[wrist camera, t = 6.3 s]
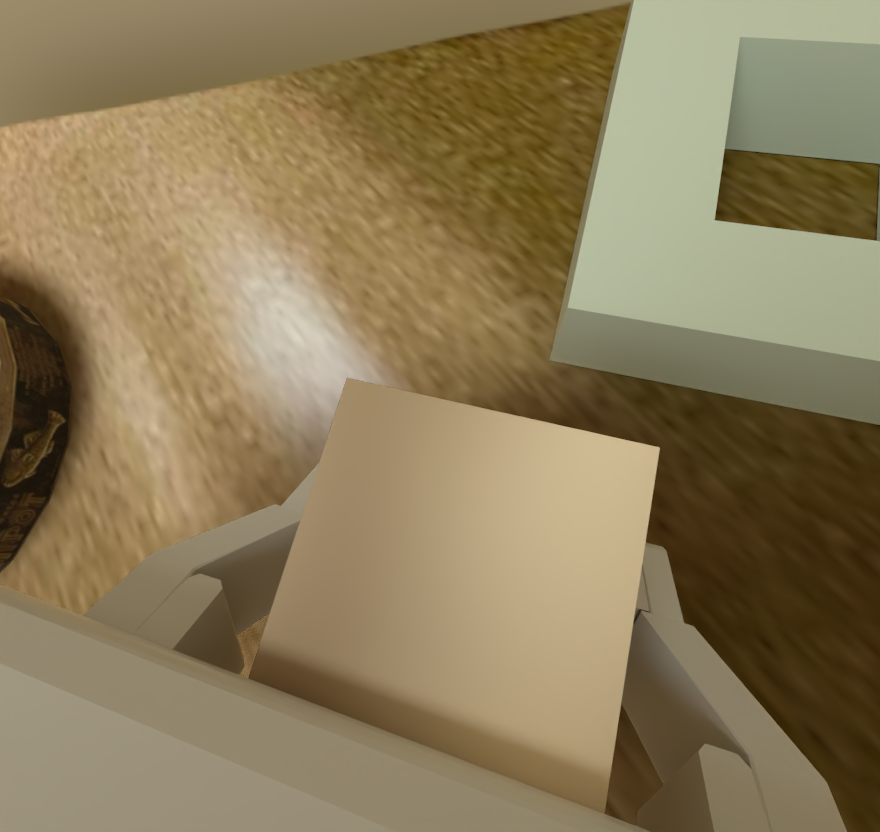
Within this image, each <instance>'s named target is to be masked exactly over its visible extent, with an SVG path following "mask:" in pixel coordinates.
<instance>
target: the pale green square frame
mask: <svg viewBox="0 0 880 832" xmlns="http://www.w3.org/2000/svg"><path fill="white" fill-rule="evenodd" d="M725 149H732V150H743V151H753V152H763V153H773V154H784V155H794V156H804V157H814V158H825V159H835V160H845V161H855V162H865V163H876V164H880V0H632V2H631V5H630V9H629V13H628V17H627V21H626V24H625V28H624V32H623V36H622V40H621V43H620V47H619V51H618V55H617V59H616V62H615V66H614V70H613V74H612V78H611V83H610V87H609V92H608V97H607V101H606V106H605V110H604V115H603V119H602V124H601V128H600V133H599V137H598V142H597V147H596V151H595V156H594V160H593V165H592V169H591V174H590V178H589V183H588V188H587V192H586V197H585V201H584V206H583V210H582V215H581V219H580V224H579V229H578V233H577V238H576V242H575V247H574V251H573V256H572V260H571V265H570V269H569V274H568V279H567V283H566V288H565V292H564V297H563V301H562V306H561V310H560V315H559V320H558V324H557V329H556V333H555V338H554V342H553V347H552V351H551V356H550V361H554V362H559V363H564V364H570V365H575V366H580V367H585V368H590V369H595V370H600V371H605V372H611V373H616V374H621V375H626V376H631V377H636V378H641V379H646V380H651V381H657V382H662V383H667V384H672V385H677V386H682V387H687V388H692V389H698V390H703V391H708V392H713V393H718V394H723V395H728V396H733V397H739V398H744V399H749V400H754V401H759V402H764V403H769V404H774V405H779V406H785V407H790V408H795V409H800V410H805V411H810V412H815V413H820V414H826V415H831V416H836V417H841V418H846V419H851V420H856V421H861V422H867V423H872V424H877V425H880V169H879V193H878V217H877V241H873V240H865V239H858V238H850V237H842V236H834V235H826V234H818V233H810V232H802V231H794V230H787V229H779V228H771V227H763V226H755V225H747V224H739V223H731V222H723V221H715V214H716V207H717V200H718V193H719V185H720V178H721V171H722V164H723V157H724V150H725Z"/></svg>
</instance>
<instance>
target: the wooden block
mask: <svg viewBox="0 0 880 832" xmlns="http://www.w3.org/2000/svg"><path fill="white" fill-rule="evenodd" d="M659 450H660V447H655V446H651V445H646V444H642V443H637V442H633V441H628V440H624V439H619V438H615V437H610V436H606V435H601V434H597V433H592V432H588V431H583V430H579V429H574V428H570V427H565V426H561V425H556V424H552V423H547V422H543V421H538V420H534V419H529V418H525V417H520V416H516V415H511V414H507V413H502V412H498V411H493V410H489V409H484V408H480V407H475V406H471V405H466V404H462V403H457V402H453V401H448V400H444V399H439V398H435V397H430V396H426V395H421V394H417V393H412V392H408V391H403V390H399V389H394V388H390V387H385V386H381V385H376V384H372V383H367V382H363V381H358V380H354V379H349V378H347V379H346V382H345V385H344V388H343V391H342V394H341V398H340V401H339V404H338V407H337V410H336V413H335V416H334V419H333V422H332V425H331V428H330V431H329V434H328V437H327V440H326V443H325V446H324V449H323V452H322V455H321V458H320V462H319V465H318V468H317V471H316V474H315V477H314V480H313V483H312V486H311V489H310V492H309V495H308V498H307V501H306V504H305V507H304V510H303V513H302V516H301V519H300V523H299V526H298V529H297V532H296V535H295V538H294V541H293V544H292V547H291V550H290V553H289V556H288V559H287V562H286V565H285V568H284V571H283V574H282V577H281V580H280V583H279V587H278V590H277V593H276V596H275V599H274V602H273V605H272V608H271V611H270V614H269V617H268V620H267V623H266V626H265V629H264V632H263V635H262V638H261V641H260V644H259V648H258V651H257V654H256V657H255V660H254V663H253V666H252V669H251V672H250V675H249V679H252V680H254V681H257V682H259V683H262V684H265V685H267V686H270V687H273V688H275V689H278V690H280V691H283V692H286V693H288V694H291V695H294V696H296V697H299V698H302V699H304V700H307V701H309V702H312V703H315V704H317V705H320V706H323V707H325V708H328V709H330V710H333V711H336V712H338V713H341V714H344V715H346V716H349V717H351V718H354V719H357V720H359V721H362V722H365V723H367V724H370V725H372V726H375V727H378V728H380V729H383V730H386V731H388V732H391V733H394V734H396V735H399V736H401V737H404V738H407V739H409V740H412V741H415V742H417V743H420V744H422V745H425V746H428V747H430V748H433V749H436V750H438V751H441V752H443V753H446V754H449V755H451V756H454V757H457V758H459V759H462V760H464V761H467V762H470V763H472V764H475V765H478V766H480V767H483V768H485V769H488V770H491V771H493V772H496V773H499V774H501V775H504V776H506V777H509V778H512V779H514V780H517V781H520V782H522V783H525V784H527V785H530V786H533V787H535V788H538V789H541V790H543V791H546V792H548V793H551V794H554V795H556V796H559V797H562V798H564V799H567V800H570V801H572V802H575V803H577V804H580V805H583V806H585V807H588V808H591V809H593V810H596V811H598V812H601V813H604V814H605V807H606V800H607V794H608V787H609V781H610V774H611V767H612V761H613V754H614V748H615V741H616V734H617V728H618V721H619V715H620V708H621V701H622V695H623V688H624V681H625V675H626V668H627V662H628V655H629V648H630V642H631V635H632V629H633V622H634V615H635V609H636V602H637V596H638V589H639V582H640V576H641V569H642V562H643V556H644V549H645V543H646V536H647V529H648V523H649V516H650V510H651V503H652V496H653V490H654V483H655V477H656V470H657V463H658V457H659Z"/></svg>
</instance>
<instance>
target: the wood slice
mask: <svg viewBox="0 0 880 832" xmlns="http://www.w3.org/2000/svg"><path fill="white" fill-rule="evenodd" d="M70 403H71V383H70V380H69V377H68V373H67V370H66V367H65V364H64V361H63V357H62V354H61V351H60V348H59V345H58V341H57V340H56V339H55V338H54V336H53V335H52V334H51V333H50V332H49V331H48V329H47V328H46V327H45V326H44V325H43V324H42V322H41V321H40V320H39V319H38V318H37V317H36V316H35V314H34V313H33V312H32V311H31V310H30V309H28V308H26V307H24V306H21V305H19V304H17V303H15V302H13V301H11V300H8V299H6V298H4V297H2V296H0V572H1V571H2V570H3V569H4V568H5V567H6V566H7V565H8V564H9V563H10V562H11V561H12V560H13V559H14V558H15V556H16V554H17V553H18V551H19V550H20V548H21V546H22V545H23V543H24V541H25V540H26V538H27V537H28V535H29V533H30V532H31V530H32V528H33V527H34V525H35V524H36V522H37V520H38V519H39V517H40V515H41V514H42V512H43V511H44V509H45V507H46V506H47V504H48V502H49V501H50V498H51V495H52V492H53V489H54V486H55V483H56V479H57V476H58V473H59V470H60V467H61V464H62V461H63V458H64V455H65V451H66V448H67V445H68V442H69V431H70Z"/></svg>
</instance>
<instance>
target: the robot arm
mask: <svg viewBox="0 0 880 832" xmlns="http://www.w3.org/2000/svg"><path fill="white" fill-rule="evenodd" d="M318 465H319V463H318V464H317V465H316V467H315V468H314V469H313V470H312V471H311V472H310V473H309V474H308V476H307V477H306V478H305V479H304V480H303V481H302V482H301V484H300V485H299V486H298V487H297V488H296V489H295V490H294V492H293V493H292V494H291V495H290V496H289V497H288V498H287V499H286V501H285V502H284V503H283V504H282V505H281V506H280V505H276V504H274V505H271V506H269V507H266V508H264V509H261V510H259V511H256V512H254V513H251V514H249V515H246V516H244V517H241V518H239V519H236V520H234V521H231V522H229V523H227V524H224V525H222V526H219V527H217V528H214V529H212V530H209V531H207V532H204V533H202V534H199V535H197V536H194V537H192V538H189V539H187V540H184V541H182V542H179V543H177V544H174V545H172V546H169V547H167V548H164V549H162V550H159V551H157V552H154V553H152V554H150V555H149V556H148V557H147V558H146V559H145V560H143V561H142V562H141V563H140V564H139V565H138V566H137V567H136V568H135V569H133V570H132V571H131V572H130V573H129V574H128V575H127V576H126V577H125V578H124V579H122V580H121V581H120V582H119V583H118V584H117V585H116V586H115V587H114V588H112V589H111V590H110V591H109V592H108V593H107V594H106V595H105V596H104V597H102V598H101V599H100V600H99V601H98V602H97V603H96V604H95V605H94V606H92V607H91V608H90V609H89V610H88V611H87V612H86V613H85V614H84V615H80V614H78V613H75V612H73V611H70V610H67V609H65V608H62V607H59V606H57V605H54V604H51V603H49V602H46V601H44V600H41V599H38V598H36V597H33V596H30V595H28V594H25V593H23V592H20V591H17V590H15V589H12V588H9V587H7V586H4V585H1V584H0V832H847V830H846V828H845V826H844V823H843V821H842V818H841V816H840V813H839V811H838V808H837V806H836V803H835V801H834V799H833V796H832V794H831V791H830V789H829V786H828V784H827V782H826V781H825V779H824V778H823V777H822V776H821V775H820V774H819V772H818V771H817V770H816V769H815V768H814V767H813V765H812V764H811V763H810V762H809V761H808V759H807V758H806V757H805V756H804V755H803V754H802V752H801V751H800V750H799V749H798V748H797V747H796V745H795V744H794V743H793V742H792V741H791V740H790V738H789V737H788V736H787V735H786V734H785V733H784V731H783V730H782V729H781V728H780V727H779V726H778V724H777V723H776V722H775V721H774V720H773V719H772V717H771V716H770V715H769V714H768V713H767V711H766V710H765V709H764V708H763V707H762V706H761V704H760V703H759V702H758V701H757V700H756V699H755V697H754V696H753V695H752V694H751V693H750V692H749V690H748V689H747V688H746V687H745V686H744V685H743V683H742V682H741V681H740V680H739V679H738V678H737V676H736V675H735V674H734V673H733V672H732V671H731V669H730V668H729V667H728V666H727V665H726V663H725V662H724V661H723V660H722V659H721V658H720V656H719V655H718V654H717V653H716V652H715V651H714V649H713V648H712V647H711V646H710V645H709V644H708V642H707V641H706V640H705V639H704V638H703V637H702V635H701V634H700V633H699V632H698V631H697V630H696V628H695V627H694V626H692V625H689V624H685V623H684V620H683V615H682V611H681V607H680V603H679V599H678V595H677V591H676V587H675V583H674V579H673V575H672V571H671V567H670V563H669V559H668V555H667V551H666V550H665V549H664V547H662V546H658V545H654V544H650V543H645V549H644V556H643V562H642V569H641V576H640V582H639V589H638V596H637V602H636V609H635V615H634V622H633V629H632V635H631V642H630V648H629V655H628V662H627V668H626V675H625V681H624V688H623V695H622V701H621V703H622V705H623V707H624V709H625V711H626V713H627V715H628V717H629V719H630V721H631V723H632V725H633V727H634V729H635V731H636V732H637V734H638V736H639V738H640V740H641V742H642V744H643V746H644V748H645V750H646V752H647V754H648V756H649V758H650V760H651V762H652V764H653V766H654V768H655V770H656V772H657V774H658V776H659V778H660V780H661V782H662V784H663V786H662V787H661V788H660V789H659V790H658V791H657V792H656V793H655V794H654V795H653V796H652V797H651V798H650V799H649V800H648V801H647V802H646V803H645V804H644V805H643V806H642V807H641V808H640V809H639V810H638V811H637V812H636V817H637V826H635V825H633V824H630V823H627V822H625V821H622V820H619V819H617V818H614V817H612V816H609V815H606V814H604V813H601V812H598V811H596V810H593V809H591V808H588V807H585V806H583V805H580V804H577V803H575V802H572V801H570V800H567V799H564V798H562V797H559V796H556V795H554V794H551V793H548V792H546V791H543V790H541V789H538V788H535V787H533V786H530V785H527V784H525V783H522V782H520V781H517V780H514V779H512V778H509V777H506V776H504V775H501V774H499V773H496V772H493V771H491V770H488V769H485V768H483V767H480V766H478V765H475V764H472V763H470V762H467V761H464V760H462V759H459V758H457V757H454V756H451V755H449V754H446V753H443V752H441V751H438V750H436V749H433V748H430V747H428V746H425V745H422V744H420V743H417V742H415V741H412V740H409V739H407V738H404V737H401V736H399V735H396V734H394V733H391V732H388V731H386V730H383V729H380V728H378V727H375V726H372V725H370V724H367V723H365V722H362V721H359V720H357V719H354V718H351V717H349V716H346V715H344V714H341V713H338V712H336V711H333V710H330V709H328V708H325V707H323V706H320V705H317V704H315V703H312V702H309V701H307V700H304V699H302V698H299V697H296V696H294V695H291V694H288V693H286V692H283V691H280V690H278V689H275V688H273V687H270V686H267V685H265V684H262V683H259V682H257V681H254V680H252V679H249V678H246V677H244V676H241V675H239V674H240V672H241V671H242V669H243V668H244V658H243V655H242V651H241V648H240V644H239V641H238V638H237V635H238V634H239V633H241V632H242V631H244V630H245V629H246V628H248V627H249V626H251V625H252V624H254V623H255V622H257V621H258V620H260V619H261V618H263V617H264V616H266V615H267V614H269V613H270V611H271V608H272V605H273V602H274V599H275V596H276V593H277V590H278V587H279V583H280V580H281V577H282V574H283V571H284V568H285V565H286V562H287V559H288V556H289V553H290V550H291V547H292V544H293V541H294V538H295V535H296V532H297V529H298V526H299V523H300V519H301V516H302V513H303V510H304V507H305V504H306V501H307V498H308V495H309V492H310V489H311V486H312V483H313V480H314V477H315V474H316V471H317V468H318Z"/></svg>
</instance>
